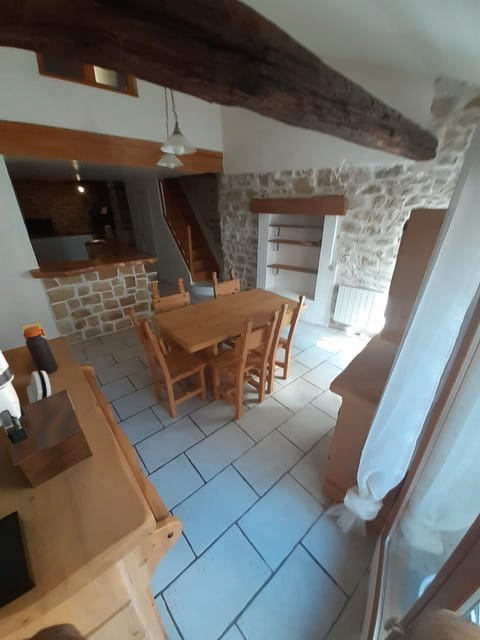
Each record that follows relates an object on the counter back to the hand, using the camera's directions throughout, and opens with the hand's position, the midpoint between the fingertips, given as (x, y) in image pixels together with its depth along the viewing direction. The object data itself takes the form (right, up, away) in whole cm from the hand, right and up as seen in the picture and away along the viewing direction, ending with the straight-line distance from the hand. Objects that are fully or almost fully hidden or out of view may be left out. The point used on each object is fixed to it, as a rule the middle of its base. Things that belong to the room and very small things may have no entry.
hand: (19, 428), depth 67 cm
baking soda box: (-31, +12, +48) cm, 59 cm away
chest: (+4, -9, +9) cm, 13 cm away
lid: (+4, 0, +4) cm, 5 cm away
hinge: (-14, 0, +26) cm, 30 cm away
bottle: (-23, +7, +40) cm, 47 cm away
